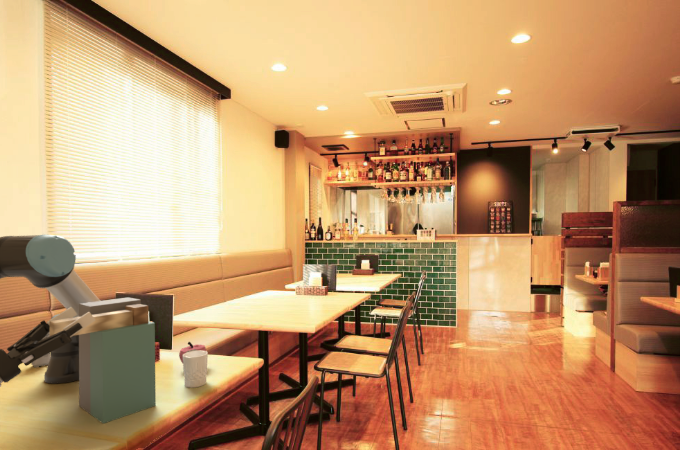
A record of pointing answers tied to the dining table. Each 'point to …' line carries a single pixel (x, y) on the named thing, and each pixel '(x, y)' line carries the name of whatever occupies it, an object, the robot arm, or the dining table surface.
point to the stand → (116, 365)
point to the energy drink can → (42, 358)
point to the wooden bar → (107, 320)
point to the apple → (190, 349)
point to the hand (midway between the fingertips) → (82, 313)
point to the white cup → (195, 368)
